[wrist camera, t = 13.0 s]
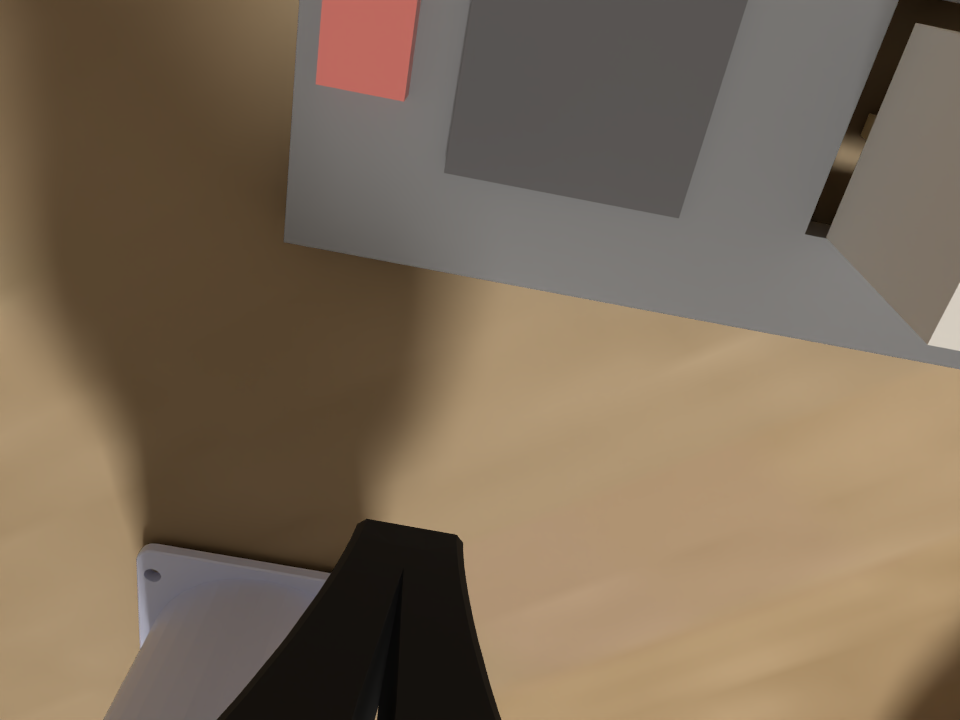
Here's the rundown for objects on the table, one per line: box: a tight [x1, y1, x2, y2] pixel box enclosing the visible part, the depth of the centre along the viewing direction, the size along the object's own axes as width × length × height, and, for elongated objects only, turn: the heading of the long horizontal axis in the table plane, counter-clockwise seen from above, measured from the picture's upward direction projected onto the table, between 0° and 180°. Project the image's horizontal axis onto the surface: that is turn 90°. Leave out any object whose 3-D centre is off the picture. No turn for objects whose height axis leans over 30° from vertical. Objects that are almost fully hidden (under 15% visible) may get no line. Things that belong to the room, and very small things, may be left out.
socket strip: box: [284, 0, 960, 369], centre depth 17 cm, size 10×20×2 cm, turn 80°
